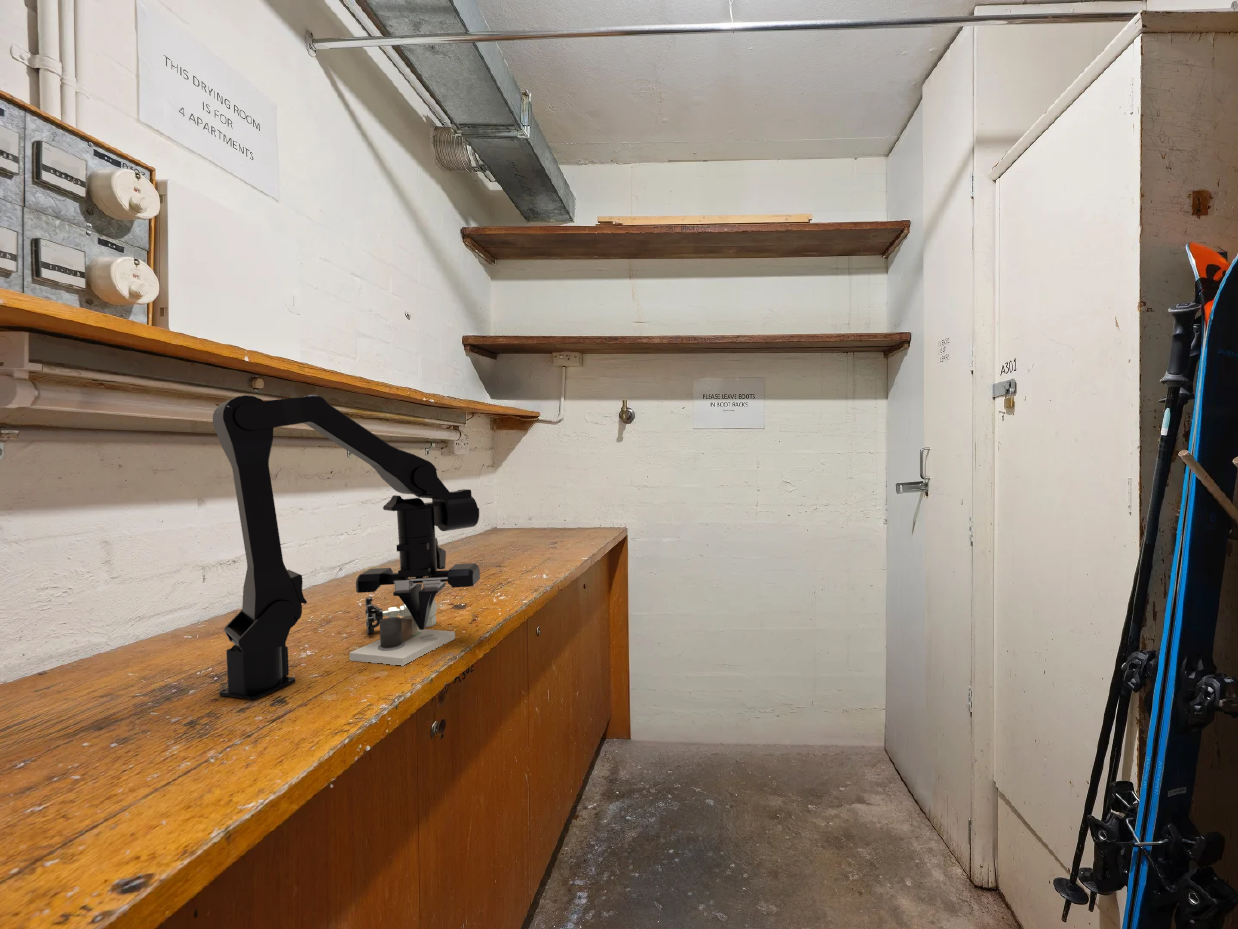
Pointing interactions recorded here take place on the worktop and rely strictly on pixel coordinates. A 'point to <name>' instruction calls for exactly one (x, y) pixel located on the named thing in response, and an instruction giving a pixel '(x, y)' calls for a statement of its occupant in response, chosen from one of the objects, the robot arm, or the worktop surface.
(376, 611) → the valve
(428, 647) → the dial board
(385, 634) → the lever
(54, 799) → the worktop surface
